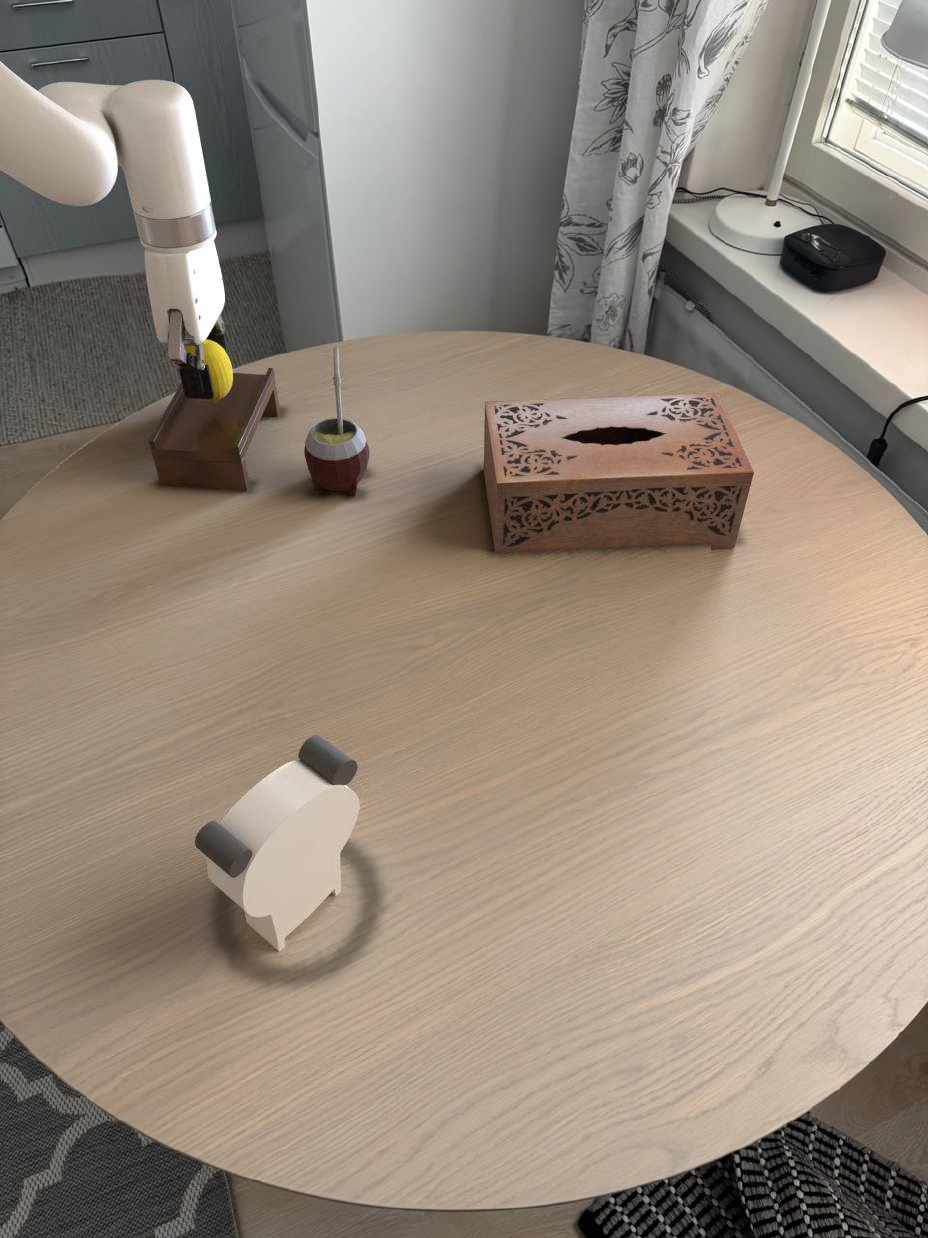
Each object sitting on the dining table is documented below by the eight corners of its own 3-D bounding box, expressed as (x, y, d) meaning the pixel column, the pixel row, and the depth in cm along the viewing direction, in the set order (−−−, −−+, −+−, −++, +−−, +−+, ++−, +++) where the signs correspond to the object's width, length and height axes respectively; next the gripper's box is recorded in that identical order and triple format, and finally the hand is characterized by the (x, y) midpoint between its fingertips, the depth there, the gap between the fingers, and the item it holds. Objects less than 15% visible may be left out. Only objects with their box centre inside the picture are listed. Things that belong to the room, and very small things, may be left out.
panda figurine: (306, 816, 83) (283, 700, 72) (408, 895, 78) (399, 783, 67) (193, 919, 76) (149, 808, 66) (296, 1012, 71) (267, 908, 61)
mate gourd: (332, 517, 110) (318, 401, 99) (294, 483, 114) (276, 368, 104) (387, 491, 113) (379, 375, 103) (348, 458, 118) (336, 344, 107)
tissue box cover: (702, 466, 117) (718, 392, 110) (734, 547, 107) (754, 472, 99) (483, 475, 115) (484, 401, 108) (494, 558, 105) (497, 483, 98)
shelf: (162, 491, 113) (148, 440, 108) (202, 412, 124) (191, 362, 119) (248, 497, 112) (238, 446, 107) (281, 417, 124) (273, 367, 119)
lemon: (230, 384, 116) (218, 321, 110) (244, 409, 112) (232, 345, 107) (183, 395, 114) (168, 332, 109) (195, 420, 111) (181, 357, 105)
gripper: (165, 185, 105) (198, 340, 118) (108, 259, 93) (151, 423, 106) (235, 188, 104) (260, 343, 117) (186, 264, 92) (220, 427, 105)
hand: (208, 380), depth 111 cm, fingers closed on lemon, 5 cm apart
